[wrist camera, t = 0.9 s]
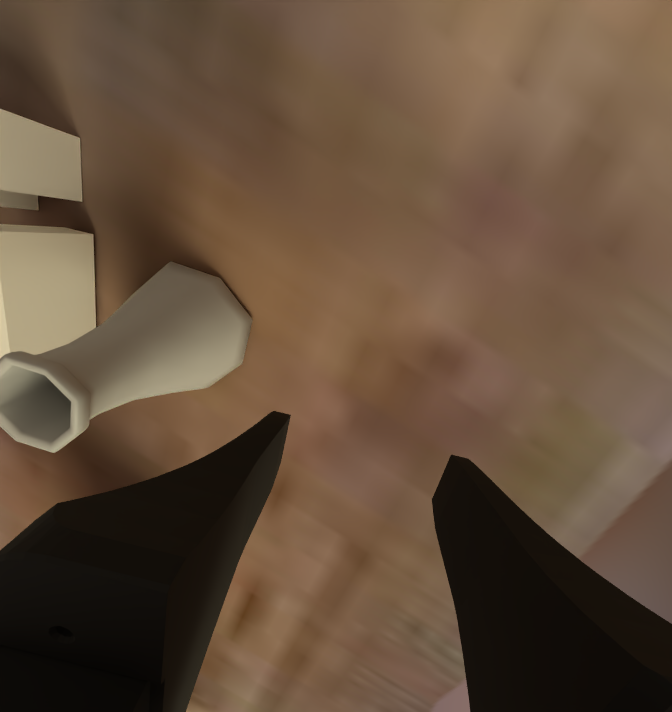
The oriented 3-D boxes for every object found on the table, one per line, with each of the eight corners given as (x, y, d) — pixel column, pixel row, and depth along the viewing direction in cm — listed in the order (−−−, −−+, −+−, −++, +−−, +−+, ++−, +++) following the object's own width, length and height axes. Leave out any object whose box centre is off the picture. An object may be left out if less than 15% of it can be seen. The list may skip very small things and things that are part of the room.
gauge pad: (97, 366, 20) (3, 410, 15) (72, 360, 20) (-30, 402, 15) (91, 162, 16) (-38, 124, 11) (60, 155, 16) (-83, 113, 11)
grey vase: (115, 337, 20) (-107, 422, 11) (165, 236, 18) (-61, 229, 8) (215, 403, 21) (94, 534, 11) (275, 315, 19) (184, 389, 9)
